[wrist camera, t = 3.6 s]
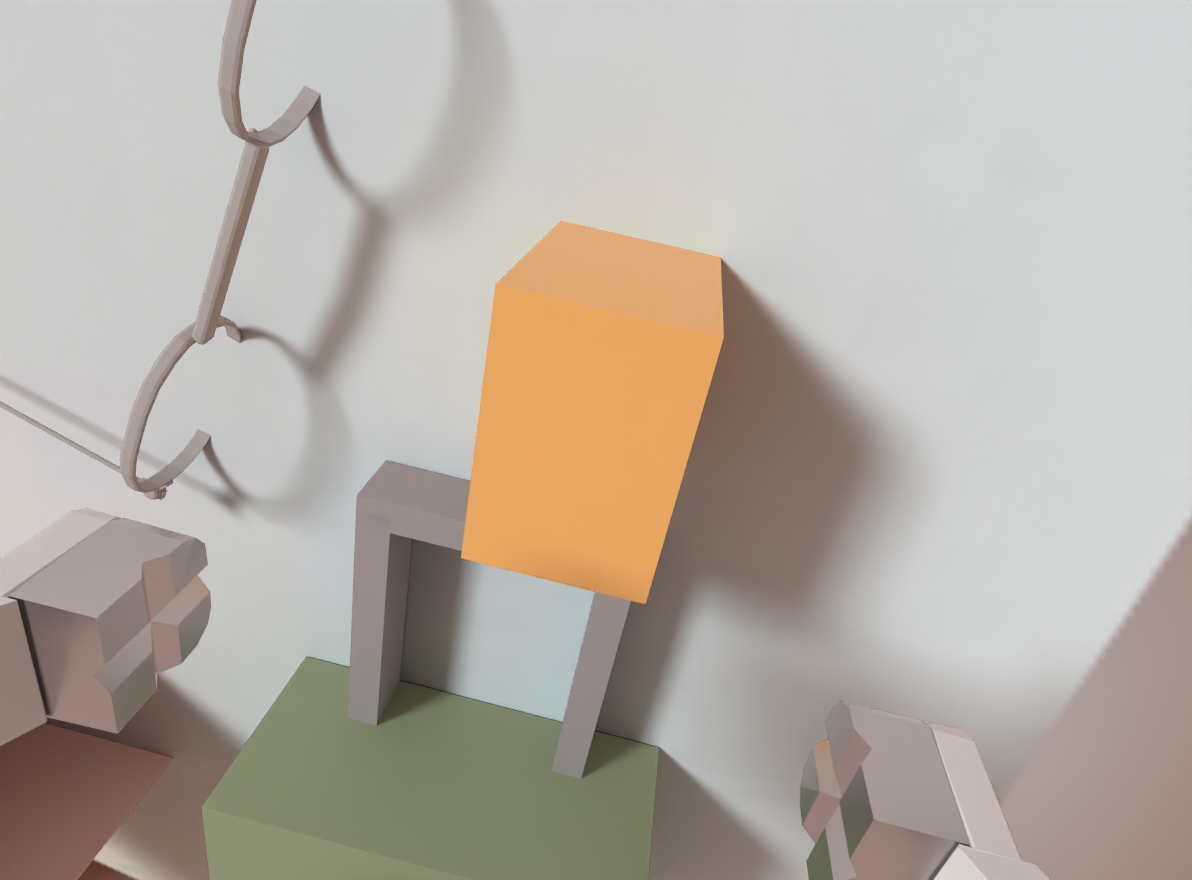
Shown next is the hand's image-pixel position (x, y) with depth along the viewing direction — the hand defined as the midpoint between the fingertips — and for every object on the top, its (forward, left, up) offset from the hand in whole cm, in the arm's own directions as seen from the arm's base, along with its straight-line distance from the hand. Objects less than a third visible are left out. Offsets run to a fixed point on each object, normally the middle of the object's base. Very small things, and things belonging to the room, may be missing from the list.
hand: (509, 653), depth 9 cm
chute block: (0, 0, -11) cm, 11 cm away
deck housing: (+14, -2, -11) cm, 18 cm away
